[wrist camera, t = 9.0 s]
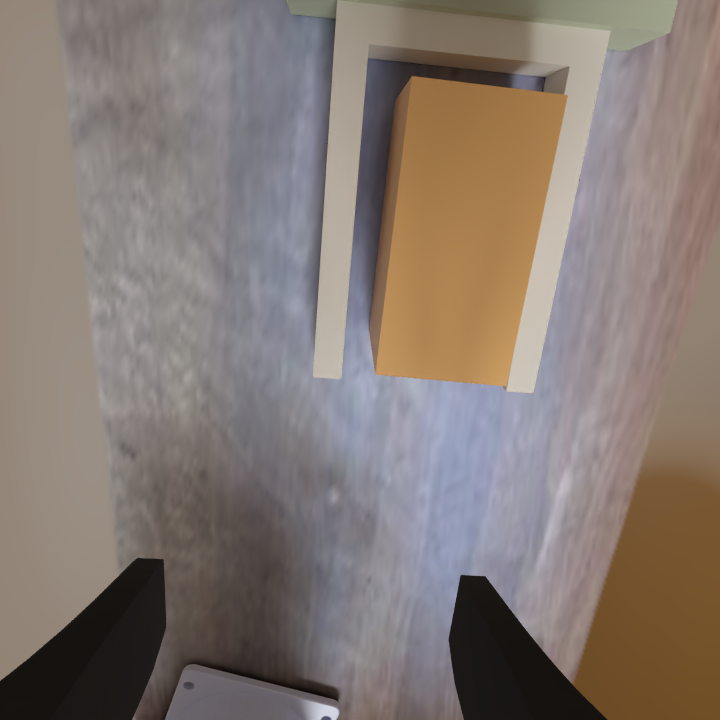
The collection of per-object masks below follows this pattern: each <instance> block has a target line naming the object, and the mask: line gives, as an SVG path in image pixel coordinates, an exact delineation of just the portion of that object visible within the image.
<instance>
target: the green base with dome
mask: <svg viewBox="0 0 720 720" xmlns="http://www.w3.org/2000/svg"><path fill="white" fill-rule="evenodd" d="M286 1H287V4H288V7H289V10H290V13H291V14H295V15H304V16H313V17H322V18H331V19H336V26H335V42H334V57H333V73H332V88H331V104H330V119H329V135H328V150H327V166H326V182H325V197H324V213H323V228H322V244H321V259H320V275H319V290H318V306H317V321H316V337H315V352H314V368H313V377H318V378H332V379H341V373H342V361H343V349H344V337H345V325H346V313H347V301H348V289H349V277H350V265H351V253H352V241H353V229H354V217H355V205H356V193H357V181H358V169H359V157H360V145H361V133H362V121H363V109H364V97H365V85H366V73H367V61H368V58H371V59H381V60H390V61H399V62H409V63H418V64H427V65H437V66H446V67H455V68H465V69H474V70H483V71H493V72H502V73H511V74H521V75H530V76H539V77H546V79H545V84H544V90H543V92H547V93H555V94H563V95H568V98H567V102H566V107H565V112H564V117H563V121H562V126H561V131H560V135H559V140H558V145H557V150H556V154H555V159H554V164H553V169H552V173H551V178H550V183H549V188H548V192H547V197H546V202H545V206H544V211H543V216H542V221H541V225H540V230H539V235H538V240H537V244H536V249H535V254H534V259H533V263H532V268H531V273H530V277H529V282H528V287H527V292H526V296H525V301H524V306H523V311H522V315H521V320H520V325H519V330H518V334H517V339H516V344H515V348H514V353H513V358H512V363H511V367H510V372H509V377H508V382H507V386H503V388H504V389H505V390H506V391H510V392H524V393H533V392H534V387H535V382H536V378H537V373H538V368H539V364H540V359H541V354H542V350H543V345H544V340H545V336H546V331H547V326H548V322H549V317H550V312H551V308H552V303H553V298H554V294H555V289H556V284H557V280H558V275H559V270H560V266H561V261H562V256H563V252H564V247H565V242H566V238H567V233H568V228H569V224H570V219H571V214H572V210H573V205H574V200H575V196H576V191H577V186H578V182H579V177H580V172H581V168H582V163H583V158H584V154H585V149H586V144H587V140H588V135H589V130H590V126H591V121H592V116H593V112H594V107H595V102H596V98H597V93H598V88H599V84H600V79H601V74H602V70H603V65H604V60H605V56H606V51H607V49H611V50H620V51H628V50H630V49H633V48H635V47H637V46H640V45H642V44H644V43H647V42H649V41H651V40H654V39H656V38H658V37H661V36H663V35H665V34H668V33H670V31H671V27H672V23H673V19H674V15H675V11H676V7H677V3H678V0H286Z"/></svg>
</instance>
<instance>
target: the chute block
mask: <svg viewBox="0 0 720 720" xmlns="http://www.w3.org/2000/svg"><path fill="white" fill-rule="evenodd" d="M567 98H568V95H563V94H555V93H547V92H539V91H531V90H522V89H514V88H506V87H498V86H490V85H482V84H473V83H465V82H457V81H449V80H441V79H432V78H424V77H416V76H412V77H411V78H410V80H409V81H408V83H407V84H406V85H405V87H404V88H403V90H402V91H401V93H400V94H399V96H398V97H397V99H396V100H395V106H394V115H393V123H392V132H391V141H390V150H389V158H388V167H387V176H386V185H385V193H384V202H383V211H382V219H381V228H380V237H379V246H378V254H377V263H376V272H375V281H374V289H373V298H372V307H371V315H370V324H369V333H370V340H371V347H372V354H373V361H374V368H375V375H386V376H397V377H408V378H420V379H431V380H442V381H453V382H464V383H476V384H487V385H498V386H507V382H508V377H509V372H510V367H511V363H512V358H513V353H514V348H515V344H516V339H517V334H518V330H519V325H520V320H521V315H522V311H523V306H524V301H525V296H526V292H527V287H528V282H529V277H530V273H531V268H532V263H533V259H534V254H535V249H536V244H537V240H538V235H539V230H540V225H541V221H542V216H543V211H544V206H545V202H546V197H547V192H548V188H549V183H550V178H551V173H552V169H553V164H554V159H555V154H556V150H557V145H558V140H559V135H560V131H561V126H562V121H563V117H564V112H565V107H566V102H567Z"/></svg>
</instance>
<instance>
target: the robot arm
mask: <svg viewBox="0 0 720 720" xmlns="http://www.w3.org/2000/svg"><path fill="white" fill-rule="evenodd" d="M165 629H166V608H165V583H164V559H145V558H137V559H136V560H135V561H133V562H132V563H131V564H130V565H129V566H128V567H127V568H126V569H125V570H124V571H123V572H122V573H121V574H120V575H119V576H118V577H117V578H116V579H115V580H114V581H113V582H112V583H111V584H110V585H109V586H108V587H107V588H106V589H105V590H104V591H103V592H102V593H101V594H100V595H99V596H98V597H97V598H96V599H95V600H94V601H93V602H92V603H91V604H90V605H89V606H87V607H86V608H85V609H84V610H83V611H82V612H81V613H80V614H79V615H78V616H77V617H76V618H74V620H72V621H71V622H70V623H69V624H68V625H67V626H66V627H65V628H64V629H62V630H61V631H60V632H59V633H58V634H57V635H56V636H54V637H53V638H52V639H51V640H50V641H49V642H47V643H46V644H45V645H44V646H43V647H42V648H41V649H39V650H38V651H37V652H36V653H35V654H33V655H32V656H31V657H30V658H29V659H27V661H25V662H24V663H22V664H21V665H20V666H19V667H17V668H16V669H15V670H14V671H12V672H11V673H10V674H9V675H7V676H6V677H5V678H3V679H2V680H1V681H0V720H132V719H133V716H134V714H135V712H136V709H137V707H138V705H139V702H140V700H141V698H142V695H143V693H144V691H145V688H146V686H147V683H148V681H149V679H150V676H151V674H152V671H153V668H154V665H155V662H156V659H157V656H158V652H159V649H160V646H161V642H162V639H163V636H164V632H165ZM449 645H450V653H451V661H452V667H453V674H454V681H455V686H456V690H457V694H458V698H459V702H460V706H461V710H462V714H463V718H464V720H607V719H606V718H605V717H604V716H603V715H602V714H601V713H600V712H599V711H598V710H597V709H596V708H595V707H594V706H593V705H592V704H591V703H590V702H589V701H588V700H587V699H586V698H585V697H584V696H583V695H582V694H581V693H580V692H579V691H578V690H577V689H576V688H575V687H574V686H573V685H572V684H571V683H570V681H569V680H568V679H567V678H566V677H565V676H564V675H563V674H562V673H561V671H560V670H559V669H558V668H557V667H556V666H555V665H554V663H553V662H552V661H551V660H550V659H549V658H548V656H547V655H546V654H545V653H544V652H543V650H542V649H541V648H540V647H539V646H538V644H537V643H536V642H535V641H534V639H533V638H532V637H531V636H530V635H529V633H528V632H527V631H526V630H525V628H524V627H523V626H522V624H521V623H520V622H519V621H518V619H517V618H516V617H515V615H514V614H513V613H512V611H511V610H510V609H509V607H508V606H507V605H506V603H505V602H504V601H503V599H502V598H501V597H500V595H499V594H498V593H497V591H496V590H495V589H494V587H493V586H492V584H491V583H490V582H489V581H488V579H487V578H486V577H485V576H468V575H461V576H460V582H459V587H458V592H457V598H456V603H455V608H454V613H453V619H452V624H451V629H450V635H449ZM339 713H340V705H339V703H338V702H337V701H336V700H334V699H330V698H326V697H322V696H318V695H314V694H310V693H306V692H303V691H299V690H295V689H291V688H287V687H283V686H279V685H275V684H271V683H267V682H263V681H259V680H255V679H251V678H247V677H243V676H239V675H235V674H231V673H228V672H224V671H220V670H216V669H212V668H208V667H204V666H200V665H196V664H191V665H187V666H186V667H185V668H184V669H183V672H182V674H181V677H180V680H179V683H178V685H177V688H176V691H175V693H174V696H173V699H172V702H171V704H170V707H169V710H168V712H167V715H166V718H165V720H337V718H338V716H339Z"/></svg>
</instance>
